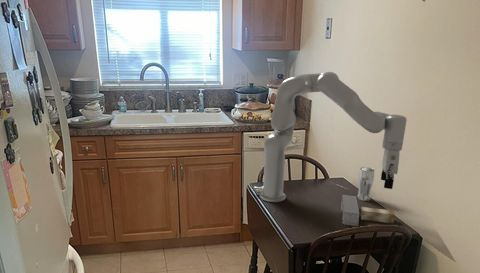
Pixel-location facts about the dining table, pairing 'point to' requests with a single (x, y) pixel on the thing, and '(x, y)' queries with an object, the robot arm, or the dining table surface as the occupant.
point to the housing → (350, 210)
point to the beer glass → (365, 183)
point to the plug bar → (377, 215)
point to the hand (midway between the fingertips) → (386, 184)
